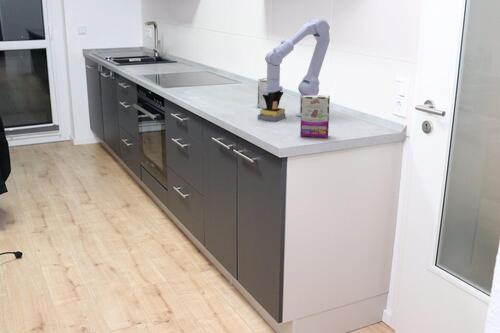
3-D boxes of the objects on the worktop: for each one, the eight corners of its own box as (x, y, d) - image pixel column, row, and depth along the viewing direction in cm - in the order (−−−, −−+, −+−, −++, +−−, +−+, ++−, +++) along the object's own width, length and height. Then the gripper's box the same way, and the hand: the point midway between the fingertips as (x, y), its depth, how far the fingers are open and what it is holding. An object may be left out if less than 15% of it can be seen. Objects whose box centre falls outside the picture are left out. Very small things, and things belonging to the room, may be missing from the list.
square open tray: (285, 117, 260) (285, 108, 258) (275, 121, 251) (275, 112, 250) (268, 115, 264) (268, 106, 263) (257, 119, 256) (257, 110, 255)
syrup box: (264, 105, 286) (264, 77, 282) (273, 107, 283) (274, 78, 278) (257, 107, 282) (257, 78, 278) (266, 109, 278) (267, 79, 274)
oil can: (279, 113, 258) (279, 97, 256) (273, 115, 255) (273, 99, 253) (270, 112, 261) (270, 96, 259) (265, 114, 257) (265, 98, 255)
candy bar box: (328, 135, 229) (330, 95, 224) (327, 138, 224) (329, 97, 219) (300, 134, 231) (302, 94, 226) (299, 137, 226) (301, 96, 221)
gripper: (273, 75, 261) (272, 104, 265) (257, 79, 249) (257, 110, 253) (286, 77, 257) (285, 106, 261) (271, 81, 245) (270, 111, 250)
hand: (272, 108), depth 257 cm, fingers open, 5 cm apart
